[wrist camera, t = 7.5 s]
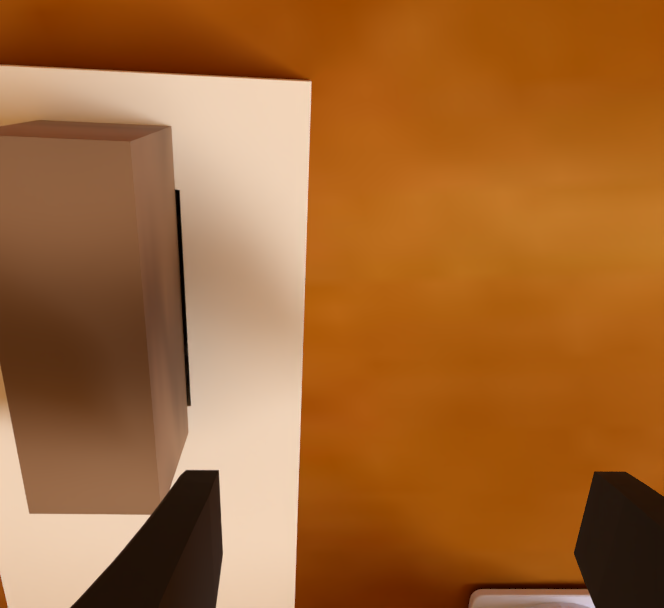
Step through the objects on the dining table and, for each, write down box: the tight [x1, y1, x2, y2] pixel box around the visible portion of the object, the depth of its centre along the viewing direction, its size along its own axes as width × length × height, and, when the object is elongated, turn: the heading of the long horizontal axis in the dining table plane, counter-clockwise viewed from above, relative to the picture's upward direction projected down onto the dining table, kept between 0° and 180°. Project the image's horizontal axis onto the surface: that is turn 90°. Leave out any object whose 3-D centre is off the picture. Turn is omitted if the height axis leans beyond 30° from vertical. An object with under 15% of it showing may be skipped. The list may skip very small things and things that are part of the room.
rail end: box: [0, 120, 189, 515], centre depth 15 cm, size 9×3×6 cm, turn 177°
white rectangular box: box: [0, 64, 311, 608], centre depth 19 cm, size 18×10×4 cm, turn 177°
